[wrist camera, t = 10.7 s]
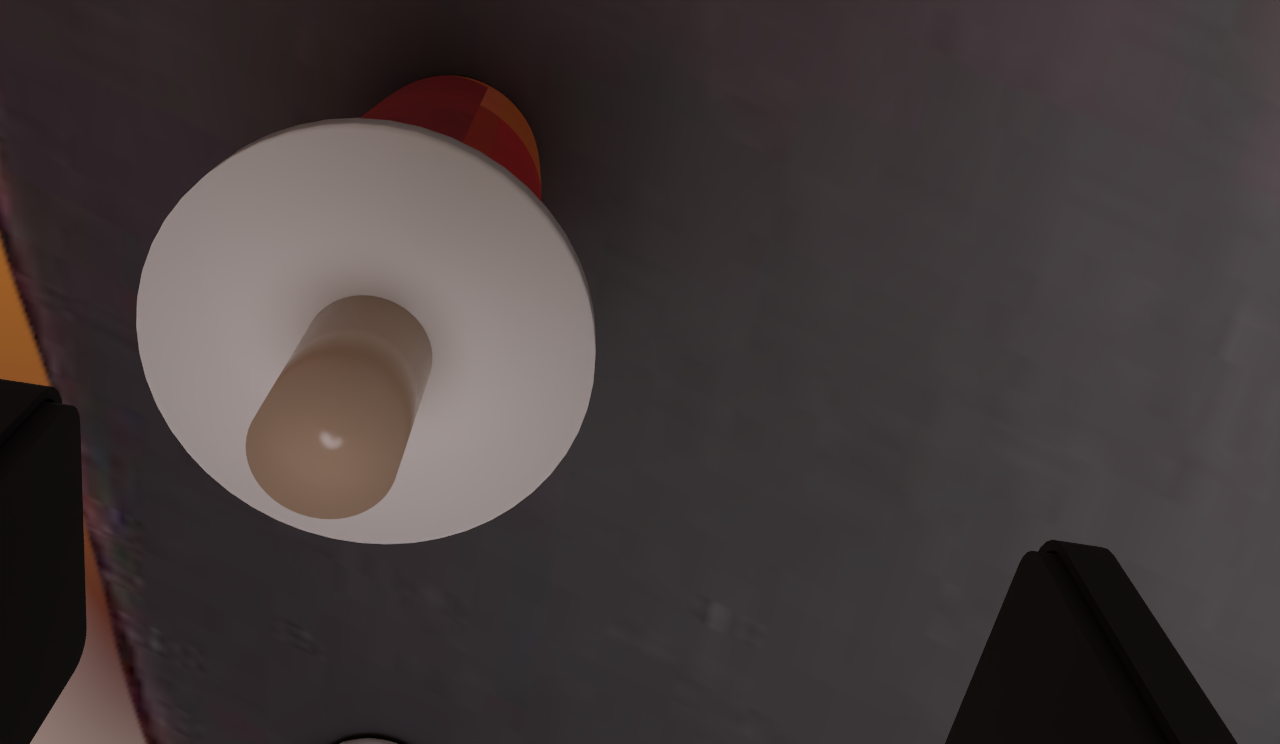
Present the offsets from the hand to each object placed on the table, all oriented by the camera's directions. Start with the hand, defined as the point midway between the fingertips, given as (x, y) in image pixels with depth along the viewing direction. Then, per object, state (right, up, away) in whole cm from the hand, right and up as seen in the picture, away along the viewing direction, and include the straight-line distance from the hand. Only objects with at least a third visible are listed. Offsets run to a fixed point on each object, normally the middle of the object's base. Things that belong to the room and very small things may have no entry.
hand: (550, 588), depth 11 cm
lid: (-5, +3, +15) cm, 16 cm away
